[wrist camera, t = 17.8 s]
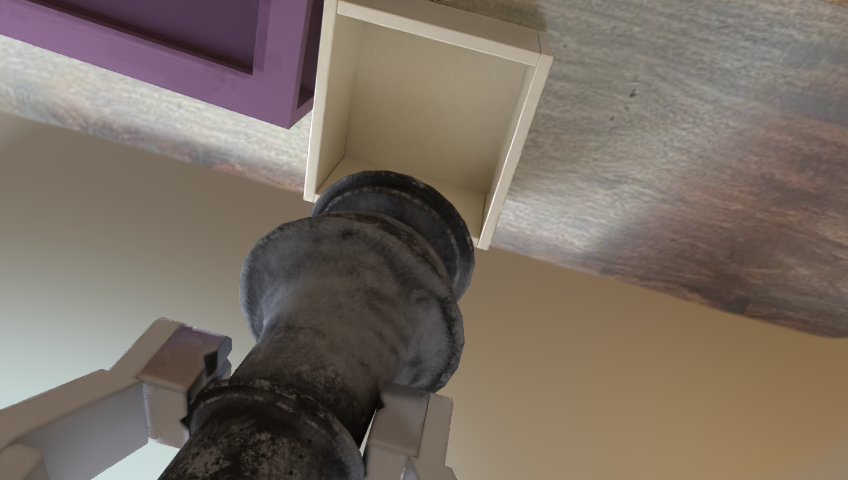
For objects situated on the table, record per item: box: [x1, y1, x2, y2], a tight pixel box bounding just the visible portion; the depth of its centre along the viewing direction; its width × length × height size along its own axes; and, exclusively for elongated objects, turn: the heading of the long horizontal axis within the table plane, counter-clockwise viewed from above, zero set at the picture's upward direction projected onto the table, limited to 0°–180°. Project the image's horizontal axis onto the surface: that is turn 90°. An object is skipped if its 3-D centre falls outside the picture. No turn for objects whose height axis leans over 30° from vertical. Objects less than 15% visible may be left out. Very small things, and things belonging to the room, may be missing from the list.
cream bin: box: [304, 0, 554, 250], centre depth 27 cm, size 10×10×6 cm
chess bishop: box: [158, 170, 475, 480], centre depth 11 cm, size 6×6×12 cm
